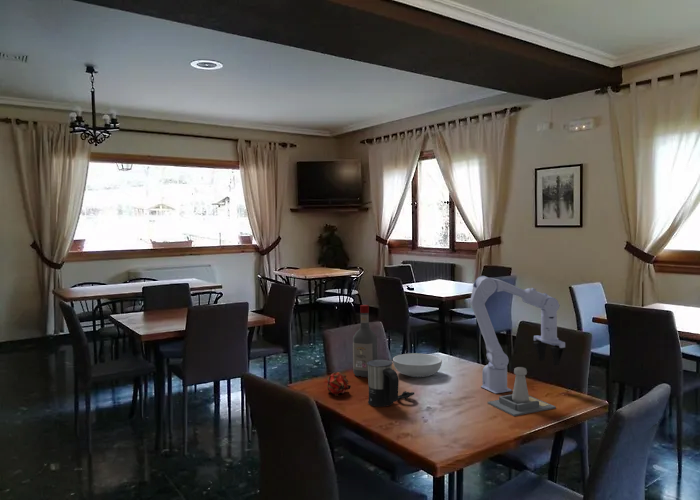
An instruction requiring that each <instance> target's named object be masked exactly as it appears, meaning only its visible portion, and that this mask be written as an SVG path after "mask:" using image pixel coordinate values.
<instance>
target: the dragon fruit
mask: <svg viewBox="0 0 700 500" xmlns="http://www.w3.org/2000/svg"><path fill="white" fill-rule="evenodd" d="M326 380H327V382H326V384H327V385H326V386H327V392H329V393H332V394H333V396H336V395H337V396H339V395H340V394H344V393H345V392H346V391H347V390H350V389H351V388H352V385H350V384H349V380H348V379H347V375H346V374H342V372H339V371H337V372H336V371H335V372H332V373H331V374H330V375H329V376H328V377H327V379H326ZM338 394H339V395H338Z"/></svg>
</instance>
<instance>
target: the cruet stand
mask: <svg viewBox="0 0 700 500" xmlns="http://www.w3.org/2000/svg"><path fill="white" fill-rule="evenodd" d="M512 394H513V393H512ZM512 394H507V395H499V396H498V399H496V400H491V401H487V404H488V405H490V406H492V407H493V408H496V409H498V410H500V411H502V412H503V413H506V414H508V415H511V416H513V417H518V416H522V415H527V414H528V415H529V414H533V413H538V412H543V411H549V410H552V409H553V410H554V409H556V408H557V407H556V406H555V405H553V404H551V403H548V402H546V401H544V400H541V399H540V398H539V399H538V398H536V397H534V396H532V395H529V401H528V402H526V403H520V404H516V403H514V402H513V400H512Z"/></svg>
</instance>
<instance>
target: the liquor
mask: <svg viewBox="0 0 700 500" xmlns="http://www.w3.org/2000/svg"><path fill="white" fill-rule="evenodd" d="M359 307H360V308H359V309H360V310H359V313H360V325H359V328H358V330H356V331H355V334H353V336H352V366H353V367H352V370H353V374H355V375H354V376H356V377H359V376H361V377H360V378H368V364H367V362H369V361H373V360H378V336H377V334H376V333H375V332H374V331H373V330H372V329H371V327H370V322H369V321H370V320H369V318H370V317H369V313H370V307H369V304H361V305H359Z"/></svg>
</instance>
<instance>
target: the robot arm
mask: <svg viewBox="0 0 700 500" xmlns="http://www.w3.org/2000/svg"><path fill="white" fill-rule="evenodd" d="M471 290H472V291H471V295H470V300H469V301H470V305H471V308H472V311H473V313H474V315H475V316H474V317H475V319H476V321H477V323H478V327H479V329H480V333H481V335H482V337H483V340H484V344H485V349H486V359H487V360H488V364H486V365H484V367H483V368H482V377H481V378H482V385H480V388H482V389H484V390H486V391H489V392H490V393H493V394H495V395H496V394H501V393H502V394H503V393H507V392H513V388H512V389H511V388H510V387H508V364H509V357H508V355H507V353H505V352H504V351H503V348H502V346H501V344H500V342H499V339H498V336H497V335H496V332H495V327H494V326H493V323H492V320H491V318H490V315H489V313H488V312H489V311H488V309H487V307H486V302H487V301H488V299H489V297H491V296H492V295H493V294H494V293H495V292H497V293H499V292H506V293H509V294H511V295H514V296H517V297H518V298H519V297H520V298H521V300H522V302H523V303H526V304H528V305H530V306H533V307H535V308H538V309H540V335H533V341H534V342H532V345H533V347H534V349H535V351H536V353H537V357H538V360H539V361H540V362H542V361H545V360H546V349H547V345H551V346H550V347H549V349H550V351H551V354H552V355H551V356H552V363H553V366H559V365H560V362H561V360H562V359H561V358H562V357H563V354H564V352H565V350H566V342H565V341H563V340H560V339H559V337H558V316H557V315H558V314H557V313H558V311H559V309H560V304H559V301H558V299H557V298H556V297H553V296H550V295H549V294H548V293H546V292H543V293H542V292H540V291H537V288H534V287H527V288H525V289H522V288H520V287H518V286H515V285H513V284H511V283H509V282H506V281H504V280H501V279H498V278H494V277H488V276H485V275H480V276H478V277H477V278H476V279H475V281H474V283H473V284H472V289H471Z"/></svg>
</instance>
